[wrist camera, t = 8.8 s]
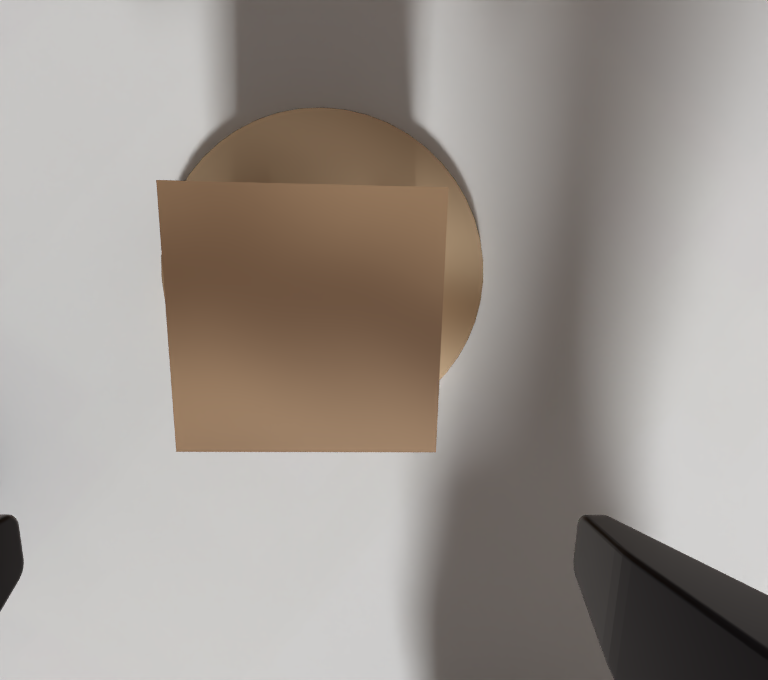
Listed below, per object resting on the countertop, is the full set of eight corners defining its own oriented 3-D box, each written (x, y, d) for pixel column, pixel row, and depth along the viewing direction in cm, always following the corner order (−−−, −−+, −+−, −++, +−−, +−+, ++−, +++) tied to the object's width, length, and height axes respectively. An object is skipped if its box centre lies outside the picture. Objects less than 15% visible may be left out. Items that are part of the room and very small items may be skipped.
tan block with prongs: (409, 367, 20) (435, 452, 13) (241, 365, 19) (176, 451, 13) (415, 194, 18) (448, 187, 11) (233, 190, 18) (156, 180, 11)
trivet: (470, 422, 21) (473, 428, 20) (178, 421, 20) (173, 428, 20) (489, 114, 18) (493, 112, 18) (154, 106, 18) (148, 102, 17)
